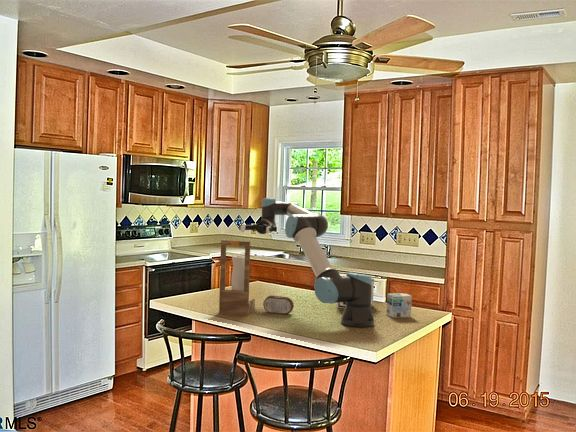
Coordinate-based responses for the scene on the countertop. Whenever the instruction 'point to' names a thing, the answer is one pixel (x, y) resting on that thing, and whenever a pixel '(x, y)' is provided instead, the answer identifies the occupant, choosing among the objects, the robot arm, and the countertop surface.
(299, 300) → the countertop surface
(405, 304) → the light bulb box
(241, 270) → the skyscraper
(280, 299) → the tin
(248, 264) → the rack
